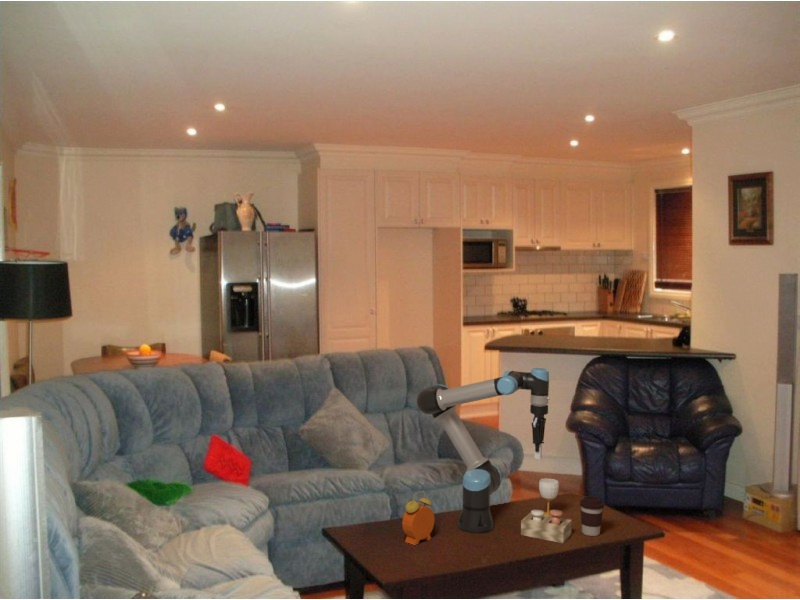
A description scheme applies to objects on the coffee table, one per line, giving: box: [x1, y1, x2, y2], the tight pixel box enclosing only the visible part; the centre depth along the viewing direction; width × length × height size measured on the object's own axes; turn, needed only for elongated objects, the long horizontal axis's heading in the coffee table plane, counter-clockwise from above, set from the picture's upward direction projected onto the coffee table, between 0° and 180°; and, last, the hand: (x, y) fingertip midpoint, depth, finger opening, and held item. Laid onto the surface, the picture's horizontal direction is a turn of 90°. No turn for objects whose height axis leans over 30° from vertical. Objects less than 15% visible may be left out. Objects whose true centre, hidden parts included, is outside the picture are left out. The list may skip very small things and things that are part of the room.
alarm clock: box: [401, 490, 436, 546], centre depth 302 cm, size 13×6×20 cm, turn 134°
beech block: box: [520, 512, 573, 544], centre depth 312 cm, size 18×12×6 cm, turn 61°
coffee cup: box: [579, 495, 605, 537], centre depth 314 cm, size 10×10×15 cm
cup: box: [538, 477, 560, 516], centre depth 334 cm, size 9×9×16 cm
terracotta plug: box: [549, 509, 563, 525], centre depth 310 cm, size 5×5×8 cm
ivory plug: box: [531, 509, 545, 521], centre depth 314 cm, size 5×5×8 cm
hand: (537, 458), depth 321 cm, fingers closed
